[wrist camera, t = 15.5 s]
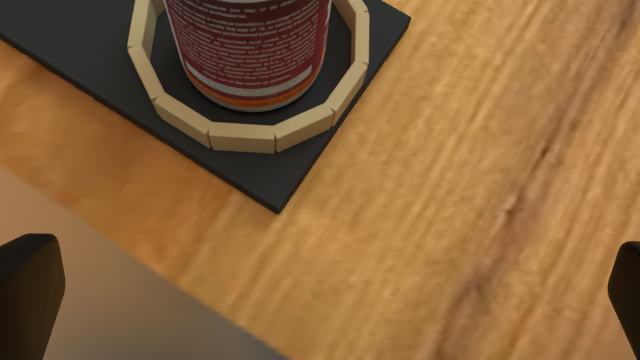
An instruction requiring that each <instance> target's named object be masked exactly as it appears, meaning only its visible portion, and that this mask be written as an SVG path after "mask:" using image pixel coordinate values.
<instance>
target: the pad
mask: <svg viewBox="0 0 640 360" xmlns="http://www.w3.org/2000/svg"><path fill="white" fill-rule="evenodd" d="M410 20H411V17H410V16H408V15H406V14H404V13H403V12H401V11H399V10H397V9H396V8H394V7H392V6H390V5H389V4H387V3H385V2H383V1H382V0H332V4H331V11H330V18H329V26H328V33H327V40H326V49H325V54H324V59H323V63H322V67H321V69H320V72H319V74H318V76H317V78H316V79H315V81H314V82H313V84H312V85H311V86H310V87H309V89H308V90H307V91H306V92H305V93H304V94H302V95H301V96H300V97H299V98H297V99H296V100H294V101H293V102H291V103H289V104H287V105H285V106H282V107H279V108H277V109H273V110H269V111H263V112H244V111H238V110H233V109H230V108H226V107H224V106H221V105H219V104H217V103H215V102H214V101H212V100H210V99H209V98H208V97H206V96H205V95H204V94H202V93H201V92H200V91H199V90H198V89H197V88H196V87H195V86H194V84H193V83H192V82H191V80H190V79H189V77H188V76H187V74H186V72H185V69H184V67H183V64H182V62H181V60H180V57H179V53H178V50H177V47H176V43H175V40H174V37H173V34H172V30H171V26H170V23H169V20H168V17H167V13H166V10H165V6H164V3H163V0H0V38H1V39H2V40H4V41H6V42H7V43H9V44H10V45H12V46H13V47H15V48H17V49H18V50H20V51H21V52H23V53H24V54H26V55H28V56H29V57H31V58H32V59H34V60H35V61H37V62H39V63H40V64H42V65H43V66H45V67H47V68H48V69H50V70H51V71H53V72H54V73H56V74H58V75H59V76H61V77H62V78H64V79H65V80H67V81H69V82H70V83H72V84H73V85H75V86H76V87H78V88H80V89H81V90H83V91H84V92H86V93H87V94H89V95H91V96H92V97H94V98H95V99H97V100H98V101H100V102H102V103H103V104H105V105H106V106H108V107H109V108H111V109H113V110H114V111H116V112H117V113H119V114H121V115H122V116H124V117H125V118H127V119H128V120H130V121H132V122H133V123H135V124H136V125H138V126H139V127H141V128H143V129H144V130H146V131H147V132H149V133H150V134H152V135H154V136H155V137H157V138H158V139H160V140H161V141H163V142H165V143H166V144H168V145H169V146H171V147H172V148H174V149H176V150H177V151H179V152H180V153H182V154H183V155H185V156H187V157H188V158H190V159H191V160H193V161H194V162H196V163H198V164H199V165H201V166H202V167H204V168H206V169H207V170H209V171H210V172H212V173H213V174H215V175H217V176H218V177H220V178H221V179H223V180H224V181H226V182H228V183H229V184H231V185H232V186H234V187H235V188H237V189H239V190H240V191H242V192H243V193H245V194H246V195H248V196H250V197H251V198H253V199H254V200H256V201H257V202H259V203H261V204H262V205H264V206H265V207H267V208H268V209H270V210H272V211H273V212H275V213H276V214H279V213H280V212H281V211H282V209H283V208H284V207H285V205H286V204H287V202H288V201H289V199H290V198H291V196H292V195H293V193H294V192H295V191H296V189H297V188H298V186H299V185H300V183H301V182H302V180H303V179H304V177H305V176H306V175H307V173H308V172H309V170H310V169H311V167H312V166H313V164H314V163H315V162H316V160H317V159H318V157H319V156H320V154H321V153H322V151H323V150H324V148H325V147H326V146H327V144H328V143H329V141H330V140H331V138H332V137H333V135H334V134H335V132H336V131H337V130H338V128H339V127H340V125H341V124H342V122H343V121H344V119H345V118H346V117H347V115H348V114H349V112H350V111H351V109H352V108H353V106H354V105H355V103H356V102H357V101H358V99H359V98H360V96H361V95H362V93H363V92H364V90H365V89H366V87H367V86H368V85H369V83H370V82H371V80H372V79H373V77H374V76H375V74H376V73H377V72H378V70H379V69H380V67H381V66H382V64H383V63H384V61H385V60H386V58H387V57H388V56H389V54H390V53H391V51H392V50H393V48H394V47H395V45H396V44H397V43H398V41H399V40H400V38H401V37H402V35H403V34H404V32H405V31H406V29H407V28H408V26H409V23H410Z"/></svg>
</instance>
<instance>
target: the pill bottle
mask: <svg viewBox="0 0 640 360" xmlns="http://www.w3.org/2000/svg"><path fill="white" fill-rule="evenodd" d="M163 3H164V6H165V10H166V13H167V17H168V20H169V23H170V26H171V30H172V34H173V37H174V40H175V43H176V47H177V50H178V53H179V57H180V60H181V62H182V64H183V67H184V69H185V72H186V74H187V76H188V77H189V79H190V80H191V82H192V83H193V84H194V86H195V87H196V88H197V89H198V90H199V91H200V92H201V93H202V94H204V95H205V96H206V97H208V98H209V99H210V100H212V101H214V102H215V103H217V104H219V105H221V106H224V107H226V108H230V109H233V110H238V111H244V112H263V111H269V110H273V109H277V108H279V107H282V106H285V105H287V104H289V103H291V102H293V101H294V100H296V99H297V98H299V97H300V96H301V95H302V94H304V93H305V92H306V91H307V90H308V89H309V87H310V86H311V85H312V84H313V82H314V81H315V79H316V78H317V76H318V74H319V72H320V69H321V67H322V63H323V59H324V54H325V49H326V40H327V33H328V26H329V18H330V11H331V4H332V0H163Z"/></svg>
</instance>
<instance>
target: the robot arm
mask: <svg viewBox="0 0 640 360" xmlns="http://www.w3.org/2000/svg"><path fill="white" fill-rule="evenodd" d="M64 291H65V275H64V269H63V264H62V258H61V252H60V247H59V242H58V240H57V238H56V237H55V236H54V235H53V234H32V233H29V234H25V235H23V236H20V237H18V238H16V239H14V240H12V241H10V242H8V243H6V244H3V245H2V246H0V360H42V359H43V356H44V353H45V350H46V347H47V344H48V341H49V338H50V335H51V332H52V329H53V326H54V323H55V320H56V317H57V314H58V311H59V308H60V305H61V301H62V299H63V296H64ZM608 295H609V298H610V301H611V303H612V305H613V308H614V310H615V312H616V314H617V316H618V319H619V321H620V323H621V325H622V328H623V330H624V332H625V334H626V336H627V339H628V341H629V343H630V345H631V348H632V350H633V352H634V354H635V356H636V359H637V360H640V241H629V242H625V243H624V244H622V245H621V247H620V248H619V251H618V254H617V257H616V260H615V263H614V266H613V269H612V272H611V275H610V278H609V282H608Z"/></svg>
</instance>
